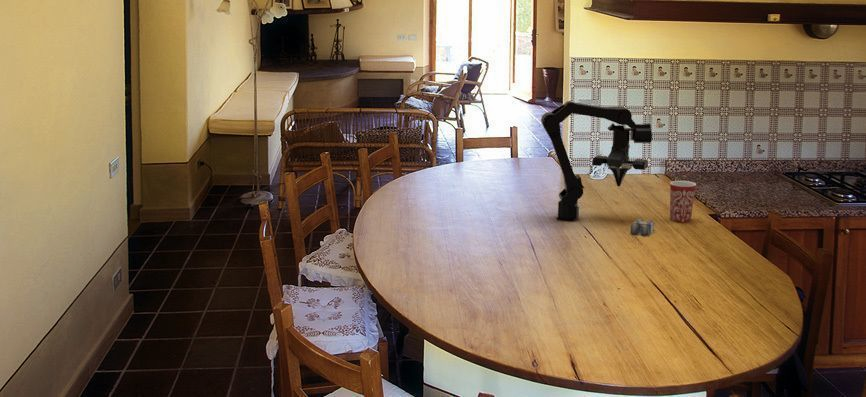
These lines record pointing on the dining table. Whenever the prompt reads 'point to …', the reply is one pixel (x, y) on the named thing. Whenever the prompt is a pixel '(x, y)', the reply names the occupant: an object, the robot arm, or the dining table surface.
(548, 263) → the dining table surface
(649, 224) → the block with round pegs
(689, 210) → the mug
